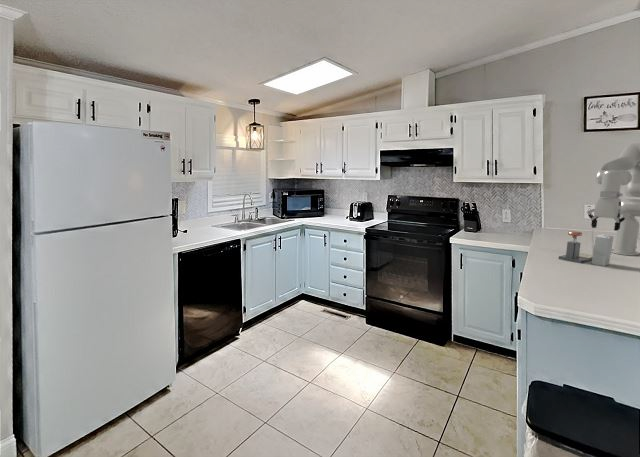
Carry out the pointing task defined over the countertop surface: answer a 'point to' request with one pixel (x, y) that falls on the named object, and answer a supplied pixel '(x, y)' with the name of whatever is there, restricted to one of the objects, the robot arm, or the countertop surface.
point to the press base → (575, 254)
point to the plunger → (574, 235)
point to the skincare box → (602, 250)
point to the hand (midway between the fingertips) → (604, 229)
